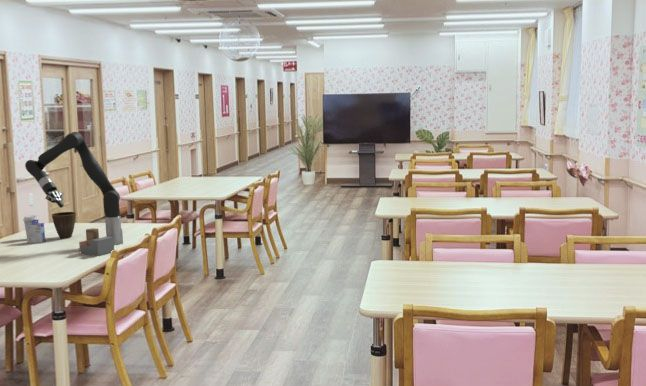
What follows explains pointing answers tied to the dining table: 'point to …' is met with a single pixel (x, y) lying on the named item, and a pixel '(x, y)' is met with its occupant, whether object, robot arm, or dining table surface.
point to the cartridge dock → (99, 246)
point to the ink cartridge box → (35, 232)
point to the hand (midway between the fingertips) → (62, 206)
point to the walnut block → (91, 235)
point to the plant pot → (64, 223)
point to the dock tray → (82, 244)
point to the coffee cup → (29, 220)
